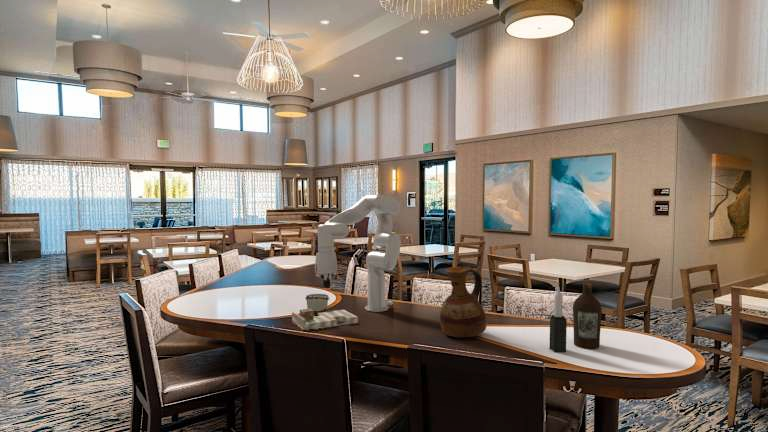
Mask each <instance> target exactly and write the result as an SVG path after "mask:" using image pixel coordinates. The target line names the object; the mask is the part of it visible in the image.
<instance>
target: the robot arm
mask: <svg viewBox="0 0 768 432" xmlns="http://www.w3.org/2000/svg"><path fill="white" fill-rule="evenodd" d="M401 205H402V204H401V203H400V202H399V200H397V199H396V198H392V197H389V196H386V195H382V194H367V195H364V196H363V197H362V198H360V199H359V200H358V201H357V202H356V203H355V204H354V205H352V206H351V207H349V208H347V209H345V210H343V211H342V212H340V213H337V214H335V215H334V216H332V217H331V218H330V219H329V220H327V221H326V222H325V223H322V224H319V225H317V251H318V252H316V254H315V261H314V271H315V276H316V277H318V278H321V279H322V281H323V285H322V286H323V288H325V289H330V288H331V280H332V279H333V277H334V276H336V275H338V258H337V255H336V252H335V250H337V246H335V242H334V241H335V239H344V238H346V237H347V236H349V233H350V227H349V225H352V224H356V223H360V222H361V221H362V220H364V219H365V217H367V216H368V215H369V214H371V212H373V213H374V215H375V216H376V219H377V225H376V230H375V233H374V237H373V246H374V248H376V249H377V250H372V251H370V252H368V253H367V255H366V258H365V264H366V268H367V305H365V307H364V310H365V311H367V312H372V313H373V312H374V313H377V312H378V313H379V312H380V313H381V312H385V311H388V310H389V306H390V305H393V304H394V302H393V300H386V273H385V271H393V270H394V269H395V267H396V266H397V263H398V259H399V255H400V251H401V245H402V240H401V236H400V235H399V234H398V233H397V232H392V231H393V219H392V218H391V216H396V215H398V214H399V213H400V211H401V208H402V206H401ZM379 250H380V251H379ZM382 250H385V251H382Z"/></svg>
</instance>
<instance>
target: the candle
mask: <svg viewBox="0 0 768 432" xmlns="http://www.w3.org/2000/svg"><path fill="white" fill-rule="evenodd" d="M563 298H564V297H563V294H562V292H561V290H560V286H558V287H557V290H556V292H555V294H554V298H553V299H554V300H553V301H554V304H553V305H554V310H553V313H554V314H552V315H551V316H549V350H551V351H553V352H554V353H566V352H567V329H568V328H567V326H568V325H567V321H568V320H567V318H566V317H565V316H564V315H563V300H564V299H563Z"/></svg>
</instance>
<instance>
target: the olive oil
mask: <svg viewBox="0 0 768 432" xmlns="http://www.w3.org/2000/svg"><path fill="white" fill-rule="evenodd" d="M582 285H583V287H582V293H581V294H580V295H579V296H578V297H577V298H576V299H575V300H574V302H573V304H572V319H573V345H574V346H576V347H578V348H581V349H586V350H587V349H588V350H597V349H599V348H600V343H601V342H600V341H601V340H600V339H601V327H602V326H601V324H602V315H603V314H602V313H603V310H602V303H601V302H600V301H599V299H597V298H596V297H595V296H594V294H593V285H592V284H591V283H582Z"/></svg>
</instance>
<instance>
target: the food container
mask: <svg viewBox="0 0 768 432" xmlns="http://www.w3.org/2000/svg"><path fill="white" fill-rule="evenodd" d="M305 300H306V306H307V307H306V309H311V310H313V316H315V315H318V313H322V312H328V311H327V310H328V304H329V303H328V302H329V301H330V296H329V295H328V294H327V293H312V294H311V293H310V294H307V295H306V297H305Z"/></svg>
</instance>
